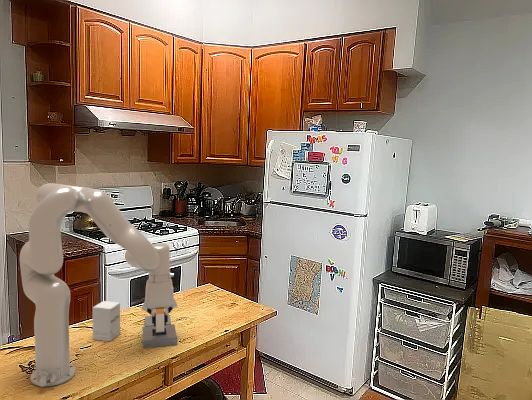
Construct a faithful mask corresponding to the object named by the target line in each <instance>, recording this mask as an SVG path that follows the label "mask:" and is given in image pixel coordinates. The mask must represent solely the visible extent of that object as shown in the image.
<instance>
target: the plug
mask: <svg viewBox="0 0 532 400" xmlns="http://www.w3.org/2000/svg"><path fill="white" fill-rule="evenodd" d="M164 311H165V308H155V314H156V332H164Z"/></svg>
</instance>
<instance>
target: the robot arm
mask: <svg viewBox="0 0 532 400" xmlns="http://www.w3.org/2000/svg"><path fill="white" fill-rule="evenodd" d="M35 200H36V203H37V205H36V206H35V208H34V209H33V210H32V213H31V215H30V217H29V219H28V220H29V221H28V240H27V242H25V243H24V245H23V246H22V248H21V249H20V253H19V268H20V277H21V284H22V288H23V293H24V295H25V296H26V297H27V298H28V299H29V300H30V301H31V302H32V303H34V305H35V312H34V318H33V328H34V330H33V331H34V351H35V354H34V356H35V370H34V371H33V372H32V373H31V374H30V382H31V384H33V385H34V386H36V387H44V388H45V387H53V386H57V385H60V384H64V383H66V382H68V381H69V380H71V379H72V378H73V377H74V376H75V375H76V367H75V366H74V365H73V364H71V359H70V358H71V357H70V324H69V319H70V318H69V317H70V316H69V315H70V313H69V311H70V305H71V304H70V303H71V290H70V287H69V286H68V284H67V283H66V282H65V281H64V280H62V279H61V278H59V277H57V276H56V275H55V274H57V273H58V272H59V271H60V270H61V269H62V267H63V263H64V255H63V254H64V253H63V244H62V235H61V234H62V231H61V228H62V222H63V220H64V218H65V217H66V216H67V215H68V214H69V213H70V212H78V213H85V214H87V215H88V216H89V218H91V220H92V221H93V222H94V223H95V225H96V226H97V227H98V228H99V230H101V232H102V233H103V234H104V235H105V236H106V237H107V238H108V239H109V240H110V241H112V243H115V244H116V245H118V246H120V247H121V248H123V249H124V251H125V254H124V259H125V261H126V263H127V264H128V265H130V266H131V267H133V268H137V269H139V270H141V271H144V272H146V273H147V272H148V279H147V280H146V285H145V293H144V294H145V296H144V299H145V300H144V301H143V303H142V305H141V310H142V311H143V312H144V311H145V312H147V313H148V314H149V316H152V324H154V327H156V314H155V308H164V325H165V326H166V322H168V314H170V312H172V310H174V309H176V308H178V306H179V305H178V303H177V301H176V300H175V297H174V286H173V280H172V278H173V277H175V273H174V272H173V273H172V272H171V269H170V267H171V266H170V264H171V263H170V261H171V259H170V254H171V253H170V245H168V244H167V243H162V242H159V243H158V242H157V243H153V244H152V243H151V242H150V241H149V239H148V238H147V237H146V236H145V235H144V234H143V233H142V232H141V231H139V229H137V228H136V227H135V226H134V225H133V224H132V223H131V222H130V221H129V220H128V219H127V218H126V217H125V215H124V214H123V212H122V211H121V210H120V209H119V208H118V206H117V205H116V204H115V202H114V201H113V200H112V199H111V197H110V196H109V195H108V194H107V193H106V192H105V191H103V190H101V189H97V188H92V187H87V186H86V187H85V186H74V185H69V184H67V185H66V184H61V183H54V182H49V183H45V184H42V185H41V186H39V188H38V189H37V191H36V193H35Z"/></svg>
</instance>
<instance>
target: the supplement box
mask: <svg viewBox="0 0 532 400" xmlns="http://www.w3.org/2000/svg"><path fill="white" fill-rule="evenodd" d="M120 334H121V303H120V302H118V301H109V300H108V301H107V300H103V301H101V302H99V303H97V304H96V305H94V306H93V307H92V340H96V341H103V342H112V341H113V339H115V338H116V337H117V336H119V335H120Z"/></svg>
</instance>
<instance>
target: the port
mask: <svg viewBox="0 0 532 400" xmlns="http://www.w3.org/2000/svg"><path fill="white" fill-rule="evenodd" d="M171 346H178V336H177V330H176V325H175V324H173V323H171V325H166V326H165V325H164V332H156V327H154V326H148V327H145V326H142V349H152V348H162V347H163V348H164V347H171Z"/></svg>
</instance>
